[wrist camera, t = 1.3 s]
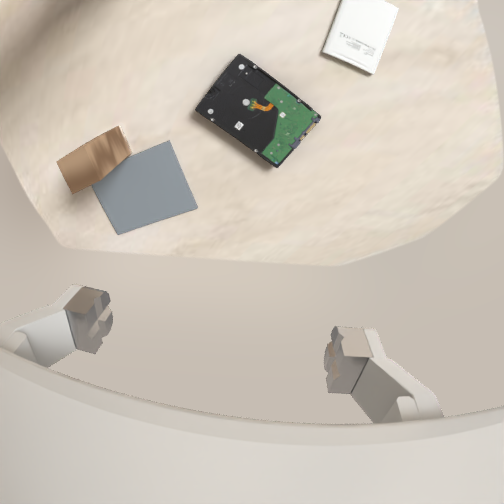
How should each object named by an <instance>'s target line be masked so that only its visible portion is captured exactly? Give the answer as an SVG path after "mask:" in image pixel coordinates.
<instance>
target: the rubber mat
mask: <svg viewBox="0 0 504 504" xmlns="http://www.w3.org/2000/svg"><path fill="white" fill-rule="evenodd" d="M92 187H93V189H94V191H95V193H96V195H97V197H98V199H99V201H100V203H101V205H102V207H103V208H104V210H105V212H106V214H107V216H108V218H109V220H110V221H111V223H112V225H113V227H114V229H115V230H116V232H117V234H118V235H119V234H122V233H125V232H128V231H131V230H134V229H136V228H139V227H142V226H145V225H148V224H151V223H154V222H157V221H160V220H163V219H166V218H169V217H172V216H175V215H178V214H181V213H185V212H188V211H191V210H194V209H197V208H198V206H197V204H196V202H195V200H194V197H193V195H192V193H191V190H190V188H189V186H188V183H187V181H186V179H185V176H184V174H183V172H182V169H181V167H180V164H179V162H178V160H177V157H176V155H175V152H174V150H173V148H172V145H171V143H170V140H169V141H167V142H164V143H162V144H159V145H157V146H154V147H152V148H150V149H147V150H145V151H143V152H140V153H138V154H136V155H133V156H131V157H129V158H126V159H124V160H123V161H122V162H121V163H119V164H118V165H117V166H116V167H115V168H114V169H113V170H111V171H110V172H109V173H108V174H107V175H106V176H105V177H104V178H103V179H102V180H100V181H98V182H96V183H94V184H92Z"/></svg>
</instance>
